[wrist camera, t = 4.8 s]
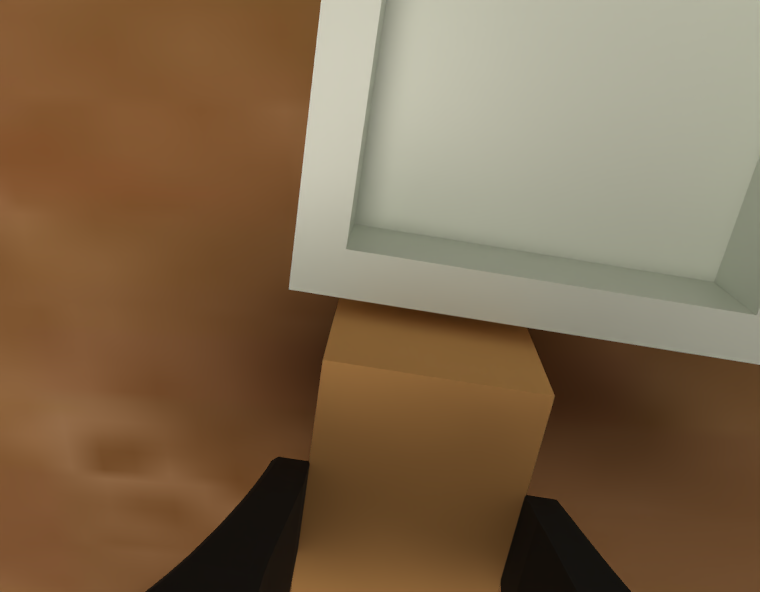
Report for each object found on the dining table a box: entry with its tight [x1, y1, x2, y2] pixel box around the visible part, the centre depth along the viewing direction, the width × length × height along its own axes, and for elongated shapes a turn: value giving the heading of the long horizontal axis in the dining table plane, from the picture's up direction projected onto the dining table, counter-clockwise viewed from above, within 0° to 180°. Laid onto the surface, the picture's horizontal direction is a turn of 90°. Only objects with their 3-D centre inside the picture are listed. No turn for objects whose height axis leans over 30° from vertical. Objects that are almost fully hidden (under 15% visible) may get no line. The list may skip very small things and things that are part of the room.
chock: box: [291, 298, 555, 592], centre depth 14 cm, size 6×4×4 cm, turn 171°
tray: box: [289, 0, 760, 365], centre depth 12 cm, size 10×10×2 cm
